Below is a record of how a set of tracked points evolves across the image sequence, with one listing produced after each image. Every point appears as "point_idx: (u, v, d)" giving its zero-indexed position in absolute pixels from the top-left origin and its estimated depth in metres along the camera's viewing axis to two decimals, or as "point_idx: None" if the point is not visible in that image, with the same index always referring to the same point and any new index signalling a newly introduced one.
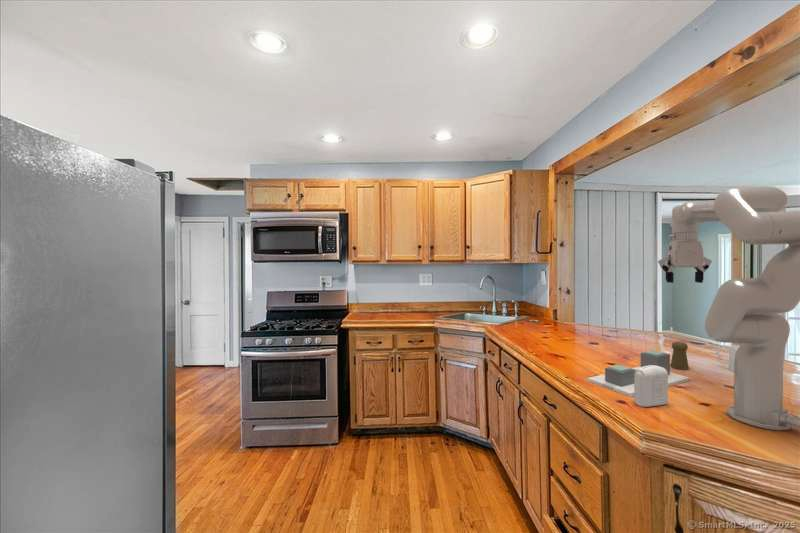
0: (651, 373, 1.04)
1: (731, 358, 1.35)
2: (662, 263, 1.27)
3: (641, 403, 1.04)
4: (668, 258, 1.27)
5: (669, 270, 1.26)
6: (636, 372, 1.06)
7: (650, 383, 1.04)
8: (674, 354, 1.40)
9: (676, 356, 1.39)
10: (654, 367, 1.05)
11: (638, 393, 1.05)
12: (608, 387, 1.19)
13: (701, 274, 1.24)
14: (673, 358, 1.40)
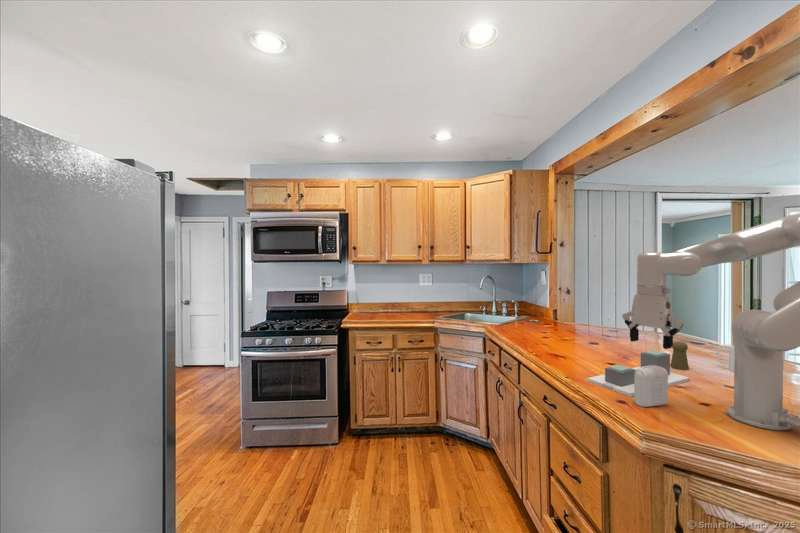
0: (651, 373, 1.04)
1: (732, 358, 1.35)
2: None
3: (641, 403, 1.04)
4: None
5: None
6: (636, 372, 1.06)
7: (650, 383, 1.04)
8: (674, 354, 1.40)
9: (676, 356, 1.39)
10: (654, 367, 1.05)
11: (638, 393, 1.05)
12: (608, 387, 1.19)
13: None
14: (673, 358, 1.40)
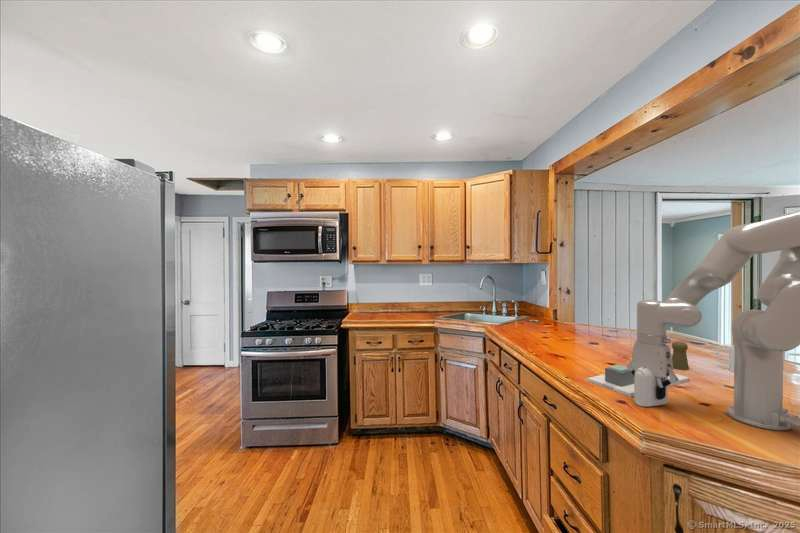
0: (651, 373, 1.04)
1: (732, 358, 1.35)
2: None
3: (641, 403, 1.04)
4: None
5: None
6: (636, 372, 1.06)
7: (650, 383, 1.04)
8: (674, 354, 1.40)
9: (676, 356, 1.39)
10: None
11: (638, 393, 1.05)
12: (608, 387, 1.19)
13: None
14: (673, 358, 1.40)
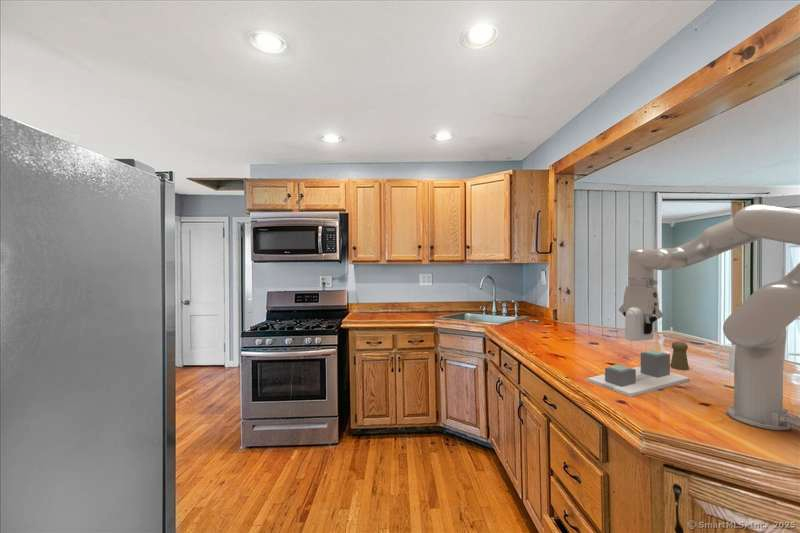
0: (640, 311, 1.19)
1: (731, 358, 1.35)
2: None
3: (631, 338, 1.20)
4: None
5: None
6: (627, 312, 1.21)
7: (639, 320, 1.19)
8: (674, 354, 1.40)
9: (676, 356, 1.39)
10: None
11: (629, 329, 1.20)
12: (608, 387, 1.19)
13: None
14: (673, 358, 1.40)
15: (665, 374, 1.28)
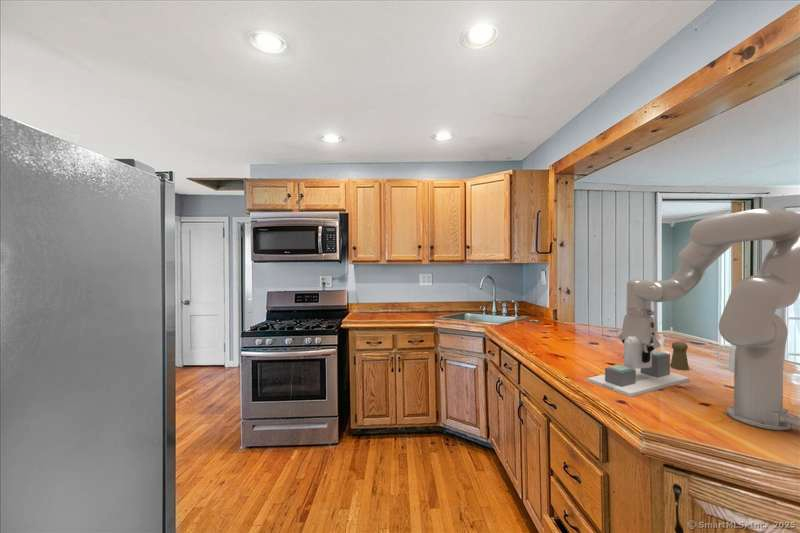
0: (638, 340, 1.23)
1: (732, 358, 1.35)
2: None
3: (629, 366, 1.24)
4: None
5: None
6: (625, 340, 1.26)
7: (637, 349, 1.23)
8: (674, 354, 1.40)
9: (676, 356, 1.39)
10: None
11: (627, 357, 1.24)
12: (608, 387, 1.19)
13: None
14: (673, 358, 1.40)
15: (665, 374, 1.28)
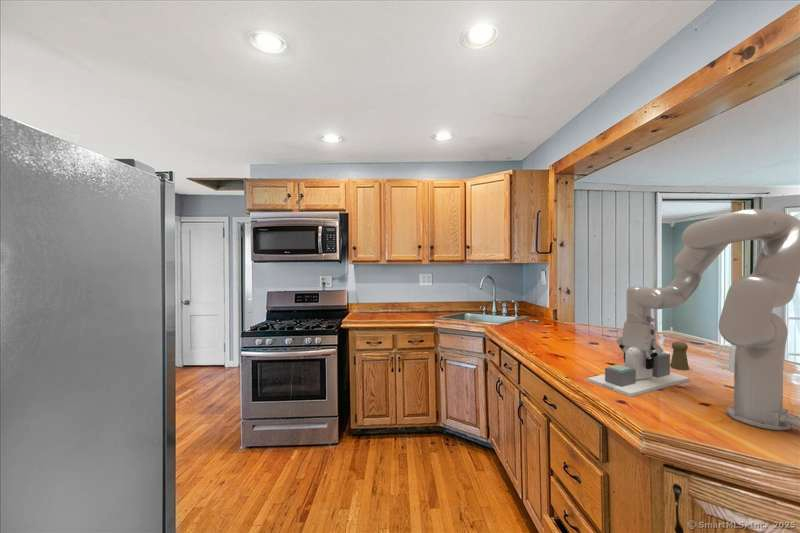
0: (639, 351, 1.23)
1: (732, 358, 1.35)
2: None
3: None
4: None
5: None
6: (626, 351, 1.25)
7: (638, 360, 1.23)
8: (674, 354, 1.40)
9: (676, 356, 1.39)
10: None
11: None
12: (608, 387, 1.19)
13: None
14: (673, 358, 1.40)
15: (665, 374, 1.28)
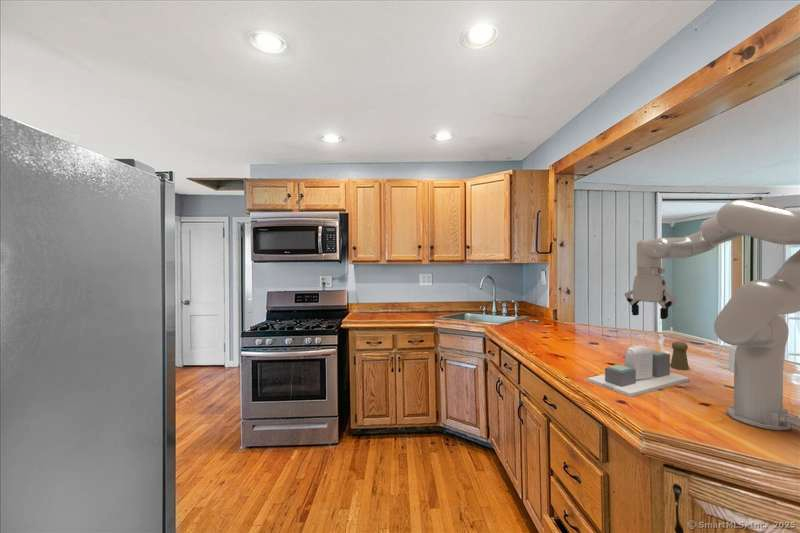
0: (639, 351, 1.23)
1: (732, 358, 1.35)
2: None
3: None
4: None
5: None
6: (626, 351, 1.25)
7: (638, 360, 1.23)
8: (674, 354, 1.40)
9: (676, 356, 1.39)
10: (641, 346, 1.24)
11: None
12: (608, 387, 1.19)
13: None
14: (673, 358, 1.40)
15: (665, 374, 1.28)
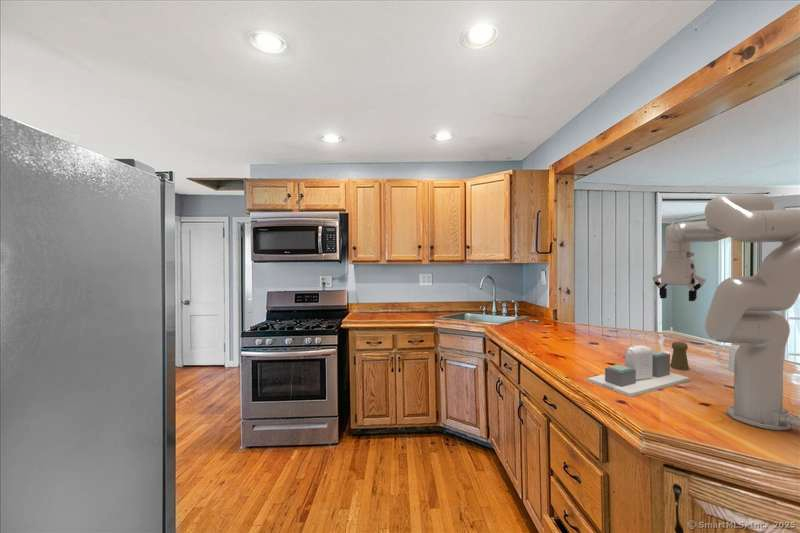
0: (639, 351, 1.23)
1: (732, 358, 1.35)
2: None
3: None
4: None
5: None
6: (626, 351, 1.25)
7: (638, 360, 1.23)
8: (674, 354, 1.40)
9: (676, 356, 1.39)
10: (641, 346, 1.24)
11: None
12: (608, 387, 1.19)
13: None
14: (673, 358, 1.40)
15: (665, 374, 1.28)
